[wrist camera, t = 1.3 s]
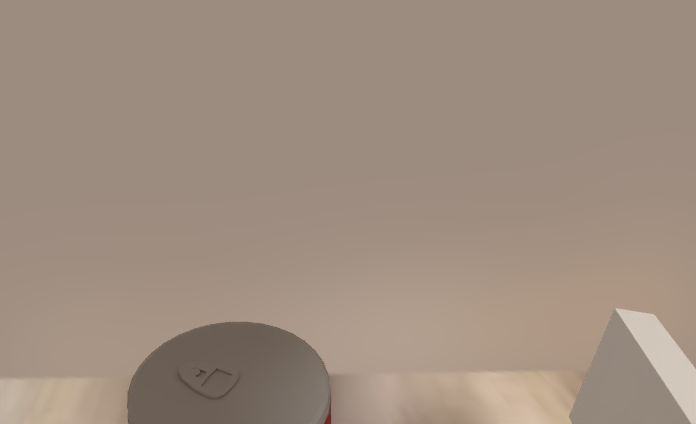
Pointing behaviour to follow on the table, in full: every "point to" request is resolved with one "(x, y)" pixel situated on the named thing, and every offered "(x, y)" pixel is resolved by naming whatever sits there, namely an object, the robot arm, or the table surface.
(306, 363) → the canned food
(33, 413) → the table surface
